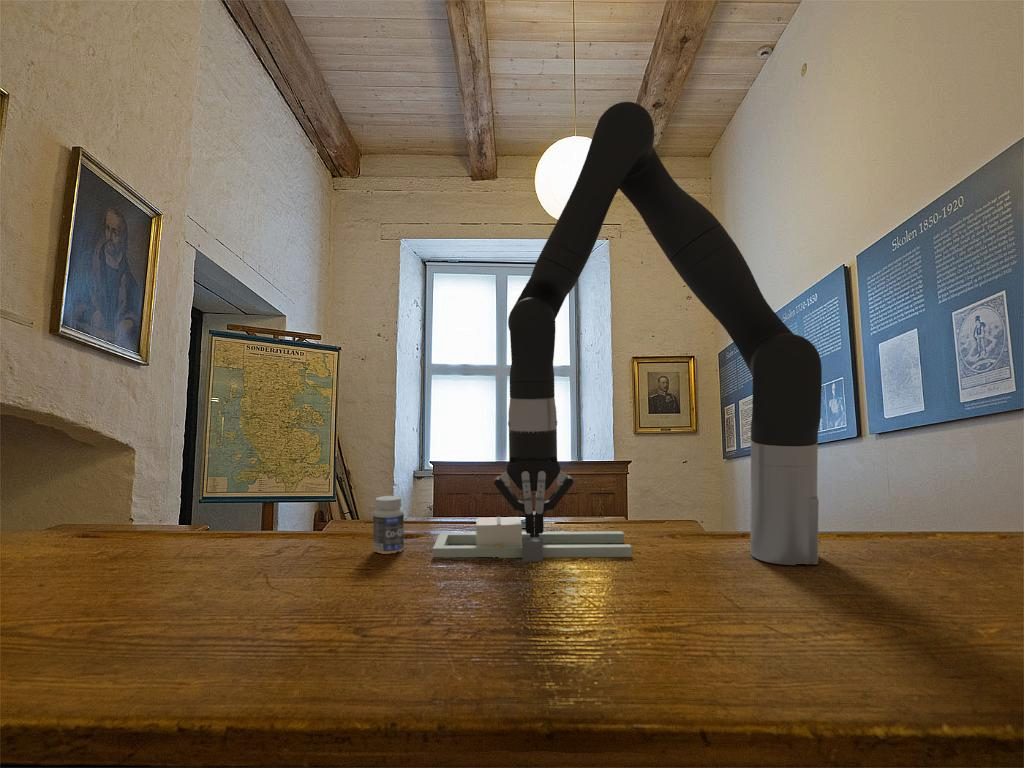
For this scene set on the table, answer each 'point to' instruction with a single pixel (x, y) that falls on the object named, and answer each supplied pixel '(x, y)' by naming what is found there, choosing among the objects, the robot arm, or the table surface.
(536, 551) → the slotted beam
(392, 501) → the pill bottle
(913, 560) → the table surface
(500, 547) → the balance mark
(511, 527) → the block
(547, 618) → the table surface
